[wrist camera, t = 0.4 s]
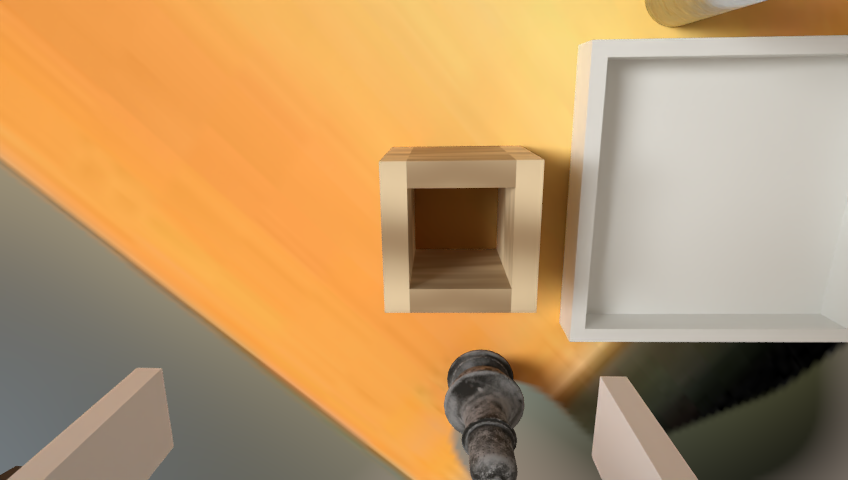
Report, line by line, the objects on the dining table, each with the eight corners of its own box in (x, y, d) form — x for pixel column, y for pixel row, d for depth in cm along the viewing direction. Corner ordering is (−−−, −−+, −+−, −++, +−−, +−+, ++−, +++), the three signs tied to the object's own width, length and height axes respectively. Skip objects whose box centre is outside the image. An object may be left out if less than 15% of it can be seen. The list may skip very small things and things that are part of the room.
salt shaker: (504, 418, 41) (530, 545, 29) (435, 401, 40) (433, 522, 29) (526, 356, 39) (563, 465, 27) (454, 338, 39) (461, 440, 27)
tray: (578, 45, 32) (592, 39, 29) (891, 39, 32) (937, 33, 29) (559, 322, 38) (569, 341, 35) (825, 322, 37) (858, 341, 34)
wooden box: (392, 147, 35) (378, 161, 27) (520, 145, 34) (544, 159, 27) (396, 267, 37) (384, 312, 29) (516, 267, 37) (536, 312, 29)
